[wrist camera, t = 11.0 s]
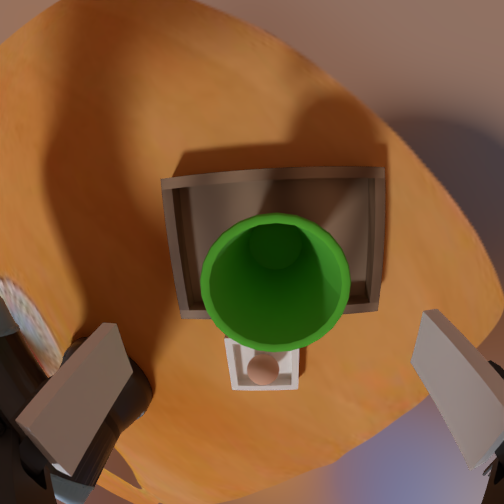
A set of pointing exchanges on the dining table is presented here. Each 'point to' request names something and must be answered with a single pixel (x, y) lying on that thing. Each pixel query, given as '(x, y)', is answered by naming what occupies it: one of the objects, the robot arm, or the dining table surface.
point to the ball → (263, 369)
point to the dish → (242, 355)
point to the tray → (277, 201)
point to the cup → (275, 282)
